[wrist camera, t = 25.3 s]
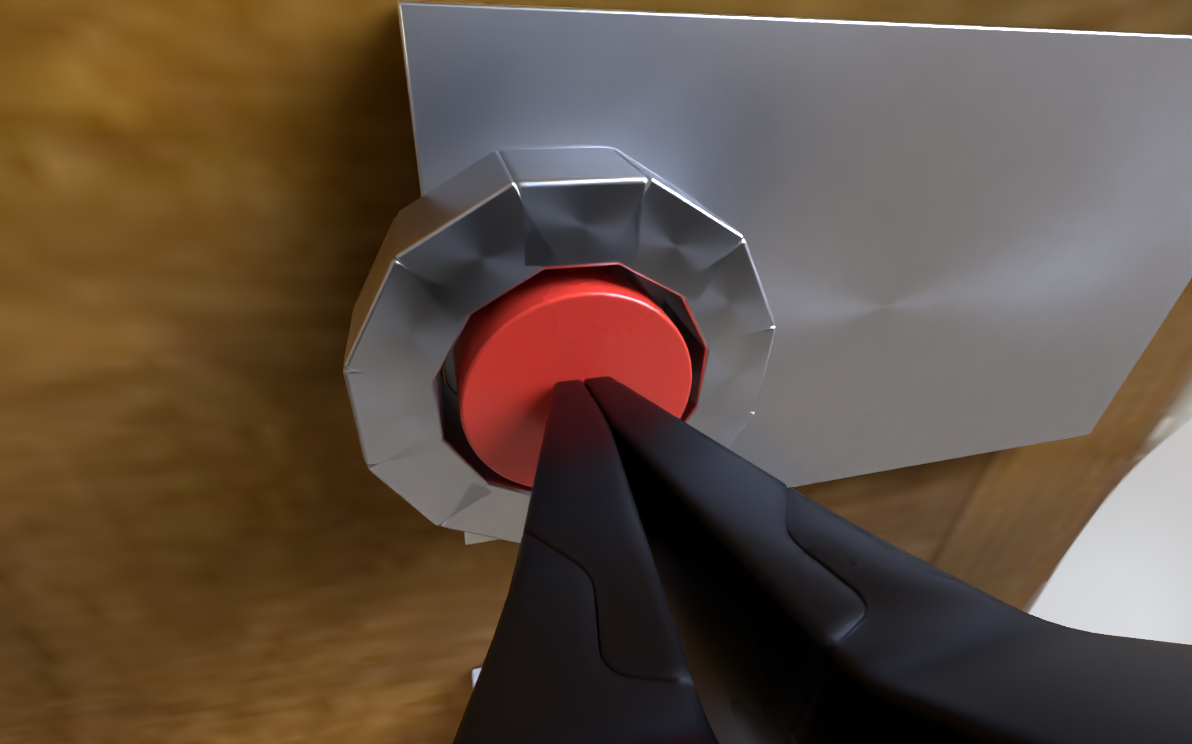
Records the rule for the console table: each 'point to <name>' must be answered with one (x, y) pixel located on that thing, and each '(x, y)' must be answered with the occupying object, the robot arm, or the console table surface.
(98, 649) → the console table surface
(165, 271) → the console table surface
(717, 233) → the button block
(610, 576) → the robot arm
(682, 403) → the button
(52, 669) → the console table surface
